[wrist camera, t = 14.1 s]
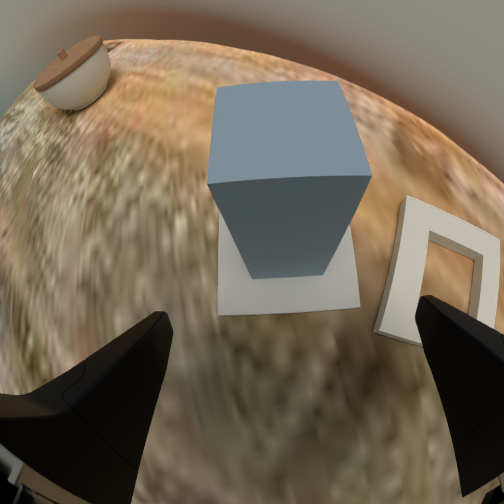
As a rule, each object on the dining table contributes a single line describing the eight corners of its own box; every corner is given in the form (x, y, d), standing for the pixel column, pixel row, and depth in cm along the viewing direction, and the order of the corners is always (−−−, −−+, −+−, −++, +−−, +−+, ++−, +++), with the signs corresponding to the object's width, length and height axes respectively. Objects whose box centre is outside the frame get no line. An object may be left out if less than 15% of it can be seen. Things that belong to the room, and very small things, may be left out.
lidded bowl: (77, 128, 30) (38, 78, 19) (51, 118, 33) (20, 80, 23) (135, 73, 32) (110, 21, 22) (99, 71, 36) (76, 31, 25)
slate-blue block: (322, 275, 19) (372, 175, 7) (252, 279, 19) (207, 184, 8) (315, 211, 20) (337, 81, 9) (250, 215, 21) (217, 87, 10)
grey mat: (358, 308, 18) (360, 307, 18) (219, 315, 19) (217, 314, 19) (340, 186, 21) (341, 183, 21) (221, 193, 22) (220, 190, 22)
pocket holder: (476, 361, 15) (486, 361, 13) (372, 331, 17) (379, 330, 16) (491, 245, 18) (499, 239, 16) (400, 203, 20) (406, 195, 19)
